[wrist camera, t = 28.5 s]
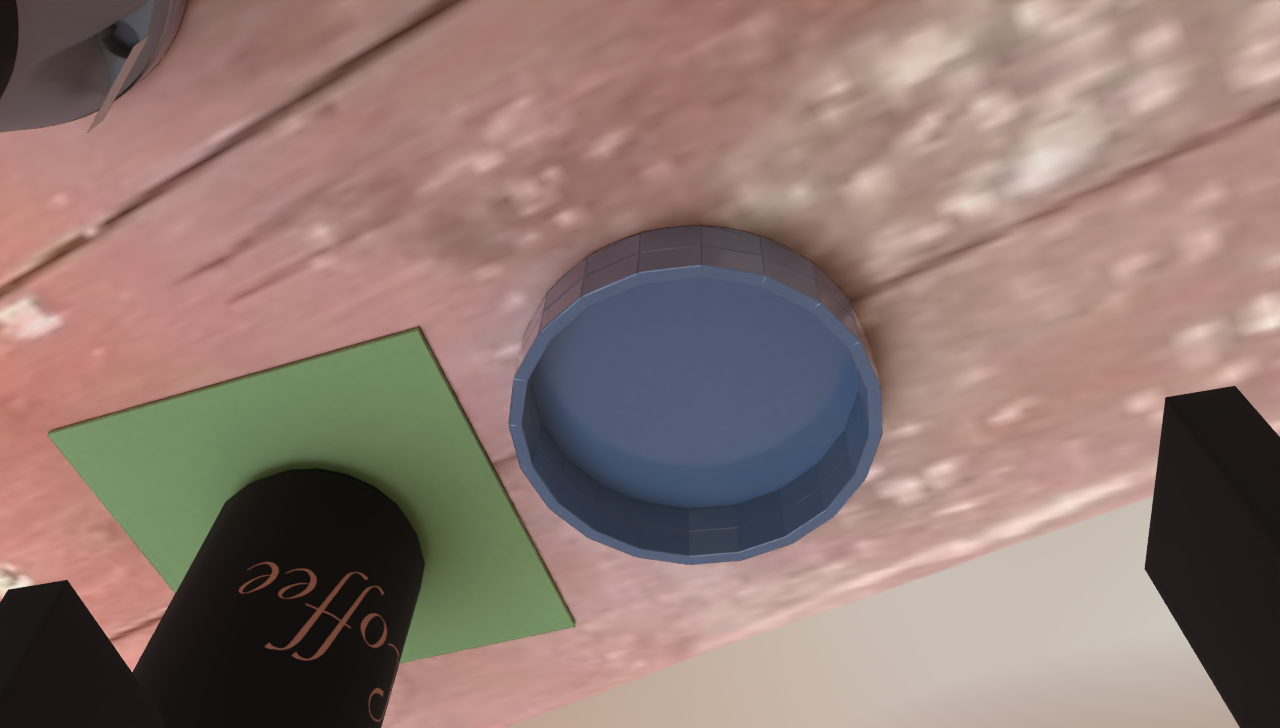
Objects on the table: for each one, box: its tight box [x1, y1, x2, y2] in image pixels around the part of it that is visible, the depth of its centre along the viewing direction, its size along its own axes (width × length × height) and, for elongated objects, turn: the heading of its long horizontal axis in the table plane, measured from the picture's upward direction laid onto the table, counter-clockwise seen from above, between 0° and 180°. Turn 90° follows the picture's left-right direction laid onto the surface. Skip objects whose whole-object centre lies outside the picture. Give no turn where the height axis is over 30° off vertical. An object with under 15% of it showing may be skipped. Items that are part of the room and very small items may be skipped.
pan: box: [508, 226, 883, 565], centre depth 47 cm, size 16×16×4 cm
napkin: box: [47, 327, 575, 663], centre depth 54 cm, size 20×20×1 cm
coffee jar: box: [132, 468, 425, 728], centre depth 47 cm, size 11×11×18 cm
